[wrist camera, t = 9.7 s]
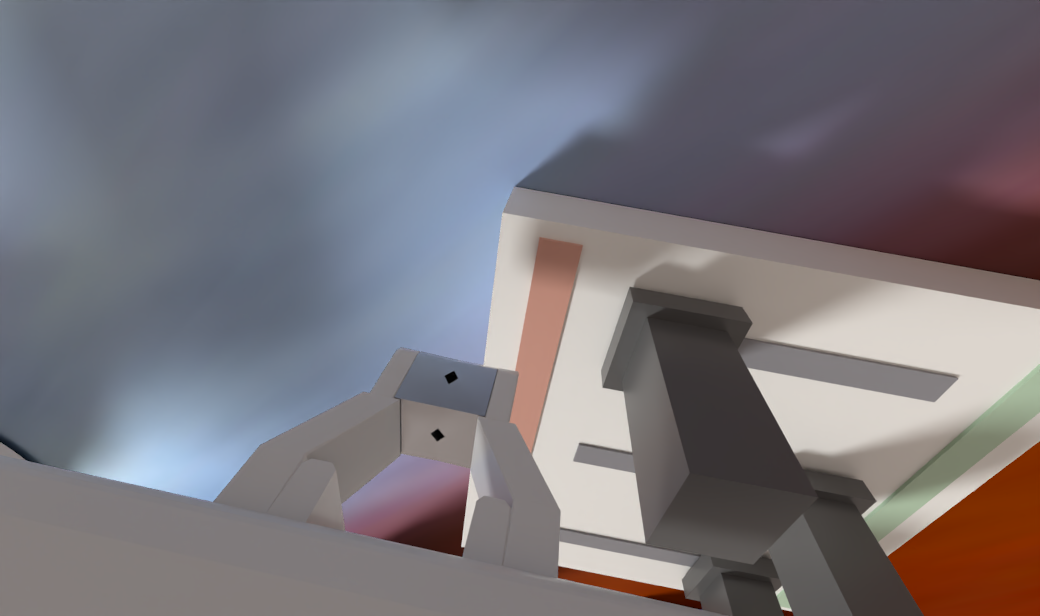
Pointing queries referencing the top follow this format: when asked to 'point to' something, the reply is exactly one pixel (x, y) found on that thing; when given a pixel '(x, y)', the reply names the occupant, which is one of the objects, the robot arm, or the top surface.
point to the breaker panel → (760, 365)
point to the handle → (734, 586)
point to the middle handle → (838, 557)
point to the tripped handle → (701, 430)
